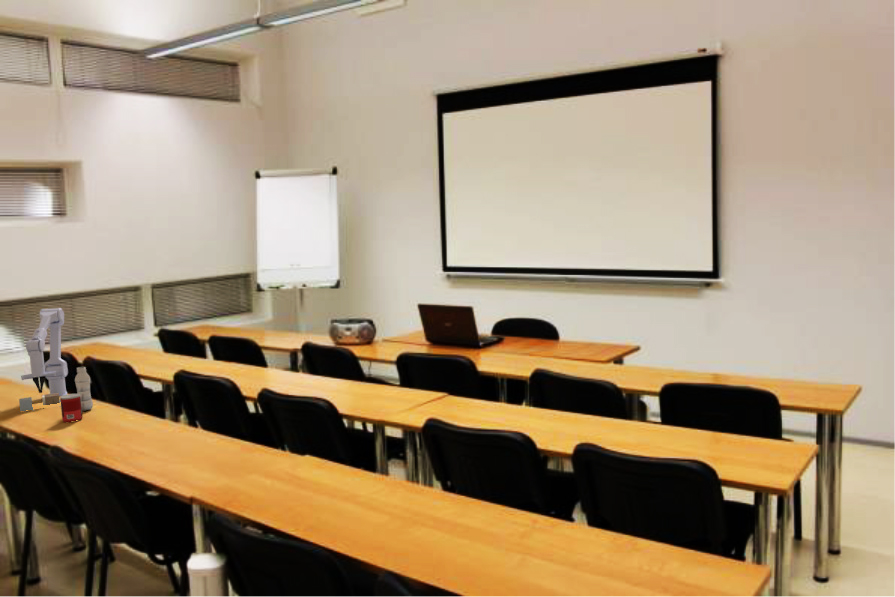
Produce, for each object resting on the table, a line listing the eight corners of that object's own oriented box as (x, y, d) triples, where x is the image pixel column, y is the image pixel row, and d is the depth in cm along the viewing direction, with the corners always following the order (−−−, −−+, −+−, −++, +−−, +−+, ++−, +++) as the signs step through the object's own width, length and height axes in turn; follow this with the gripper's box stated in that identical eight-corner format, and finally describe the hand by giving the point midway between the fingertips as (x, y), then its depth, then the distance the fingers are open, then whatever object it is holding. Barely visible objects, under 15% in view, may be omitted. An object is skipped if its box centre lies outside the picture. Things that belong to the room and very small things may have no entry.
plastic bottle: (74, 412, 348) (69, 369, 346) (85, 408, 355) (80, 366, 352) (85, 412, 346) (81, 369, 344) (96, 408, 353) (92, 366, 350)
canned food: (86, 418, 335) (83, 394, 334) (69, 423, 328) (66, 398, 327) (76, 417, 339) (73, 392, 338) (59, 421, 332) (56, 397, 331)
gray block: (20, 409, 358) (19, 398, 357) (32, 407, 360) (31, 397, 359) (20, 411, 353) (19, 400, 353) (32, 409, 356) (31, 399, 355)
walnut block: (42, 395, 367) (58, 392, 371) (43, 403, 368) (59, 400, 371) (42, 397, 362) (58, 395, 365) (43, 405, 363) (59, 403, 366)
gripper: (20, 368, 356) (23, 396, 357) (54, 363, 363) (57, 391, 364) (20, 365, 362) (23, 393, 364) (54, 361, 369) (57, 389, 370)
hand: (40, 392), depth 364 cm, fingers closed
